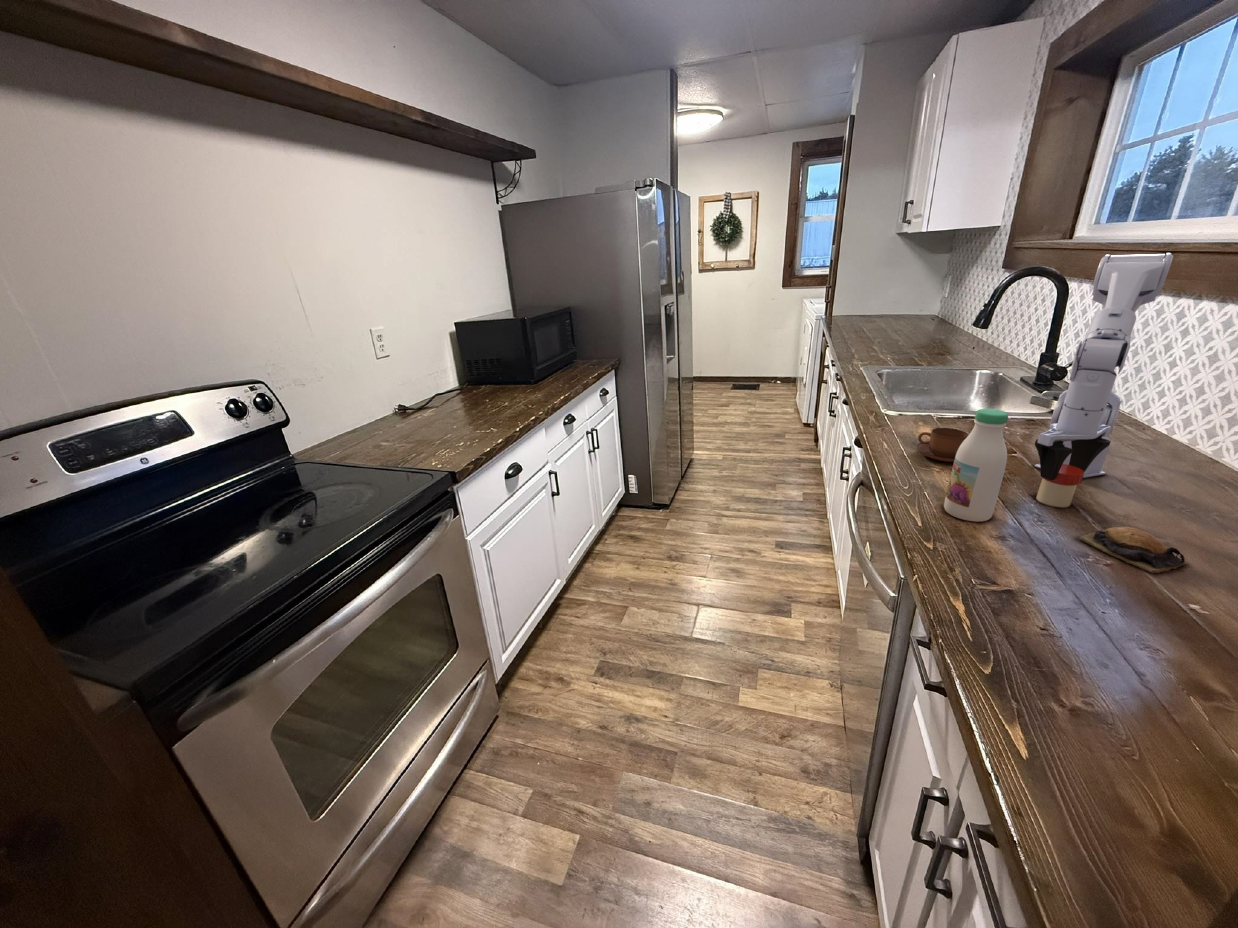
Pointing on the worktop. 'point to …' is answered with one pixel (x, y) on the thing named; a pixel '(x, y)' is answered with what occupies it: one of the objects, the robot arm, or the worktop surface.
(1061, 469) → the honey lid
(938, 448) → the cup and saucer
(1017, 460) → the worktop surface
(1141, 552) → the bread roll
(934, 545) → the worktop surface
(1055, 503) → the honey jar
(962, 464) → the milk bottle
